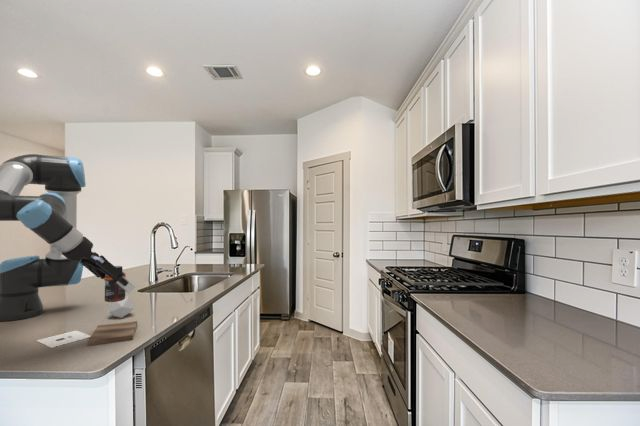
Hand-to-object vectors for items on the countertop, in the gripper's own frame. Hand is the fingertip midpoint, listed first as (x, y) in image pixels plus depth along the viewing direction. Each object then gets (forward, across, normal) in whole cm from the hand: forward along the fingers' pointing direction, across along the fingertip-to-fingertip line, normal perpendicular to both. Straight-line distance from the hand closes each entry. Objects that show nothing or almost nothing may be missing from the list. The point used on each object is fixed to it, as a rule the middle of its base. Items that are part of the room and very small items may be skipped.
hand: (126, 288), depth 112 cm
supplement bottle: (0, 0, -5) cm, 5 cm away
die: (+17, -20, -4) cm, 26 cm away
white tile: (+1, -10, -20) cm, 22 cm away
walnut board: (+8, 0, -13) cm, 15 cm away
